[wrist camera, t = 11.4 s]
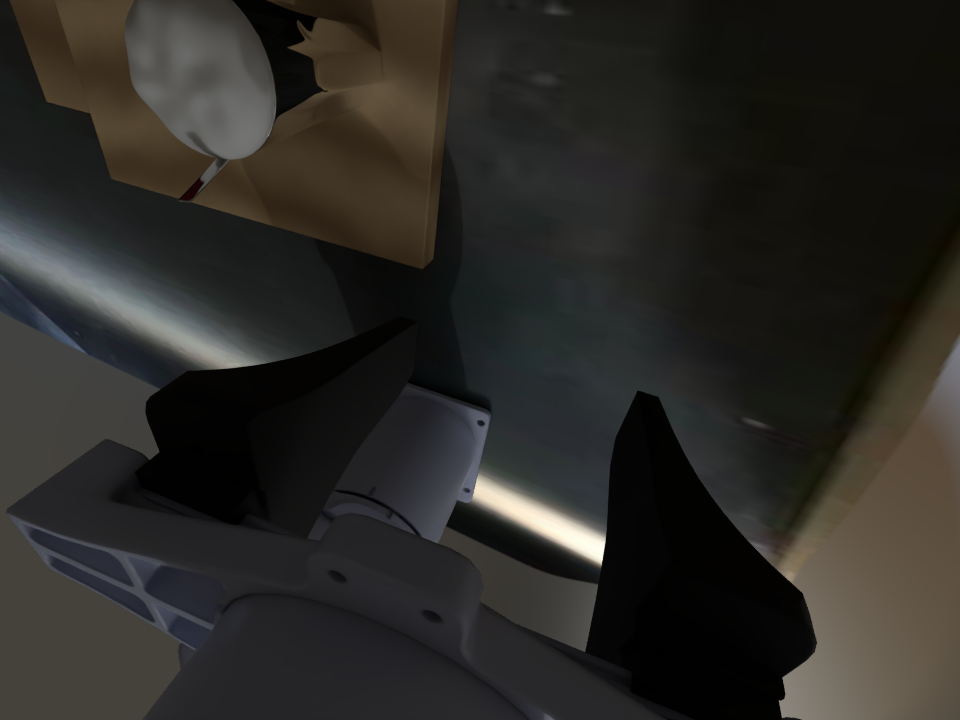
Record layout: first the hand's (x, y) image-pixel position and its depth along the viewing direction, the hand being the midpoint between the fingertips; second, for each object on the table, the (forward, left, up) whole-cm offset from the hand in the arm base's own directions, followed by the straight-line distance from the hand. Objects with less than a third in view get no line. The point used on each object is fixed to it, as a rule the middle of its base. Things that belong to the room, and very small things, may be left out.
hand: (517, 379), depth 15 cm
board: (+4, +18, -10) cm, 22 cm away
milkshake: (+6, +11, -9) cm, 15 cm away
